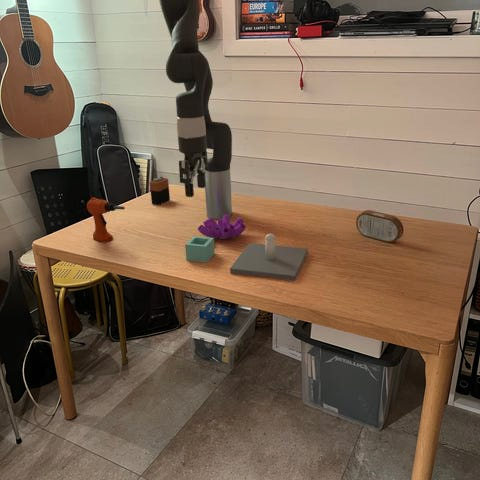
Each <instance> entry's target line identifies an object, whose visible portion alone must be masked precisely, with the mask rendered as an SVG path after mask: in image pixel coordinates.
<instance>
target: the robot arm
mask: <svg viewBox="0 0 480 480" xmlns="http://www.w3.org/2000/svg"><path fill="white" fill-rule="evenodd" d="M158 1H159V5H160V10H161V12H162V15H163V18H164V21H165V24H166V27H167V29H168V33H169V36H170V38H171V49H170V52H169V54H168V56H167V59H166V62H165V72H166V76H167V78H168V79H169V80H170V82H172V83H174V84H183V85H184V88H185V92H180V93H179V94H177V95H176V97H175V106H176V107H175V109H176V117H177V118H176V130H177V141H178V142H177V144H178V151H179V152H180V153H181V154H183V155H184V157H183V160H178V172H179V183H180V184H184V192H185V197H187V198H192V197H194V195H195V193H194V192H195V191H194V180H195V179H194V178H195V177H196V181H197V183H196V184H197V188H200V189H204V190H205V191H204V193H205V207H206V217H207V218H208V219H210V218H214V219H215V220H219V219H223V216H224V215H229V216H230V217H232V215H233V205H232V204H233V202H232V201H233V200H232V198H233V197H232V180H231V179H232V178H231V163H232V158H233V157H232V155H233V150H232V149H233V136H232V135H233V134H232V129H231V126H229V124H228V123H225V122H221V121H213V120H212V118H211V114H210V109H209V102H210V98H211V94H212V89H213V84H214V82H213V81H214V80H213V75H212V72H211V68H210V65H209V64H210V63H209V61H208V59H207V57H206V56H205V55H204V54H203V53H202V51H200V48H199V38H198V29H199V25H200V23H199V22H200V15H201V13H200V12H201V10H200V9H201V8H200V5H201V4H200V0H158ZM207 150H212V157H210V158H208V151H207Z"/></svg>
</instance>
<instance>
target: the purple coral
mask: <svg viewBox="0 0 480 480" xmlns="http://www.w3.org/2000/svg"><path fill="white" fill-rule="evenodd" d="M244 222H245V220H244V219H242V218H241V217H236V219H235V221H233V223H232V224H231V216H229V215H224V216H223V219H217V221H216V219H214V218H208V219H207V220H204V221H203V222H202V223H203V224H200V225H199V226H197V227H198V228H197V231H198V232H199V233H200V234H201V235H203V236H205V237H208V238H214V239H219V240H220V239H222V240H224V239H230V238H231V239H232V238H235V237H238V236H240V235H241V234H242V233H244V231H245V230H246V228H247V227H246V225H245V224H244Z"/></svg>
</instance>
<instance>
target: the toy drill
mask: <svg viewBox="0 0 480 480" xmlns="http://www.w3.org/2000/svg"><path fill="white" fill-rule="evenodd" d="M125 208H126V207H124V206H120V205H116V203H112V202H110V201H108V200H106V199H105V200H104V199H100V198H96V197H91V198H90V200H89V201H88V202H87V203H86V209H87V211H88V212H89V214H91V215H92V217H93V221H94V228H95V230H94V231H93V232H92V239H93V240H95V241H97V242H101V243H105V242H110V241H112V240H113V239H114V236H113V235H112V233H110V232H108V230H107V224H108V223H107V221H106V219H105V217H104V215H103V214H107V213H110V212H114V211H116V210H125Z"/></svg>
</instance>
